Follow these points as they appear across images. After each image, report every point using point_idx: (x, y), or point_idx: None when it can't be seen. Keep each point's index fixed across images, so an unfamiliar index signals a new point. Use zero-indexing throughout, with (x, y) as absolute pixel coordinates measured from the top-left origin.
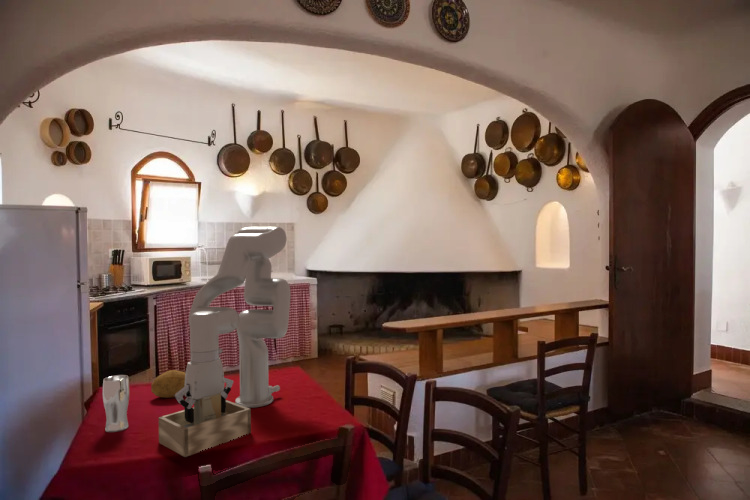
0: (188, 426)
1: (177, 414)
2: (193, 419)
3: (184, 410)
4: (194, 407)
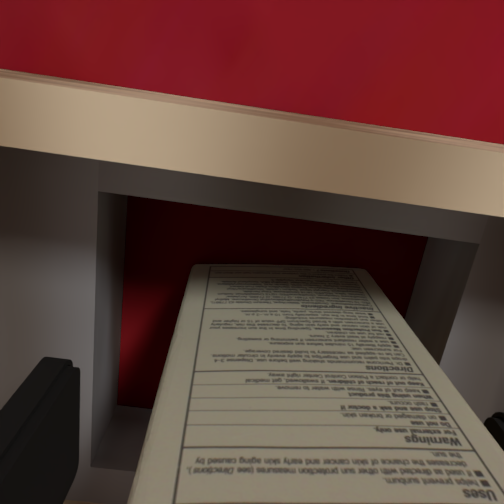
0: (189, 201)
1: (22, 142)
2: (61, 496)
3: (169, 127)
4: (134, 487)
